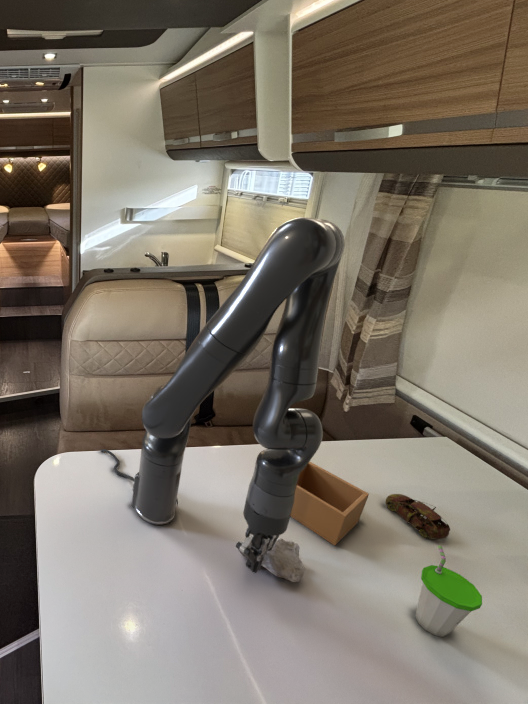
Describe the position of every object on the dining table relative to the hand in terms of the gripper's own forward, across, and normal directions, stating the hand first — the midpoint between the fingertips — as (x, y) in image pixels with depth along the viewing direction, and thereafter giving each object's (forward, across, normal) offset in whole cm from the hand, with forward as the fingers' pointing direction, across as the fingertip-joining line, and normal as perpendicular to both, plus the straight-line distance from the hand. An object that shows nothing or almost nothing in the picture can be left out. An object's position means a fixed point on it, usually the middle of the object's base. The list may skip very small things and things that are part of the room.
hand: (252, 568), depth 86 cm
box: (+2, -28, -1) cm, 28 cm away
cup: (+2, -19, +23) cm, 30 cm away
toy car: (+2, -45, +12) cm, 47 cm away
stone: (+2, -6, +1) cm, 6 cm away
